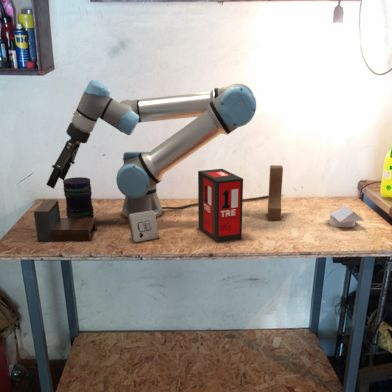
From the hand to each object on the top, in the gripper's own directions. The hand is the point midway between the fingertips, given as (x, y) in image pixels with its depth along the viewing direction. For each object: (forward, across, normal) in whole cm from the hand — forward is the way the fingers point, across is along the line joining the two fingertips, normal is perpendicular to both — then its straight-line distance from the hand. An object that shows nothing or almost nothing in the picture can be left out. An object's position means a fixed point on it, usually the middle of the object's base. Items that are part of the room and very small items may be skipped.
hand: (55, 182), depth 202 cm
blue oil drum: (+10, -4, +14) cm, 17 cm away
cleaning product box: (-17, +10, +58) cm, 61 cm away
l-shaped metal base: (+10, +12, +13) cm, 20 cm away
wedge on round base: (-40, -1, +96) cm, 104 cm away
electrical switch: (-4, +16, +36) cm, 39 cm away
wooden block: (-28, -11, +75) cm, 81 cm away
